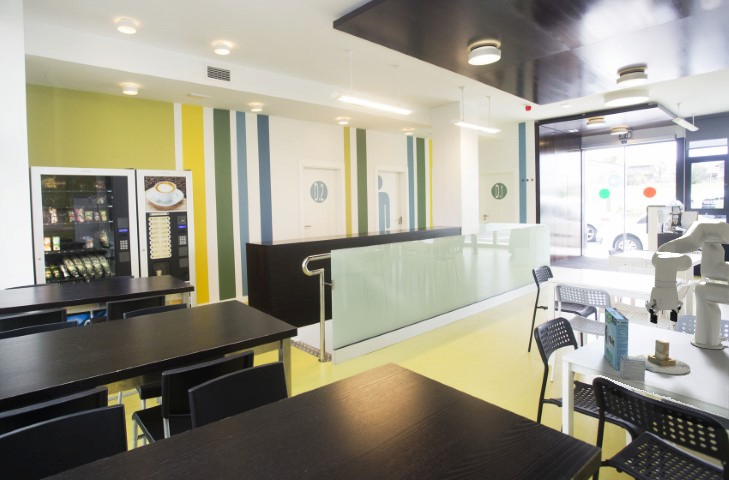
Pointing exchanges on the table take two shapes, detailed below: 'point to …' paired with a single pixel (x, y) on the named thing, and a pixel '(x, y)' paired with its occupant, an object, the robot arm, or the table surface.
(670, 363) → the rosette plate
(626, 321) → the gum box
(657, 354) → the tan block
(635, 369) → the medicine box
